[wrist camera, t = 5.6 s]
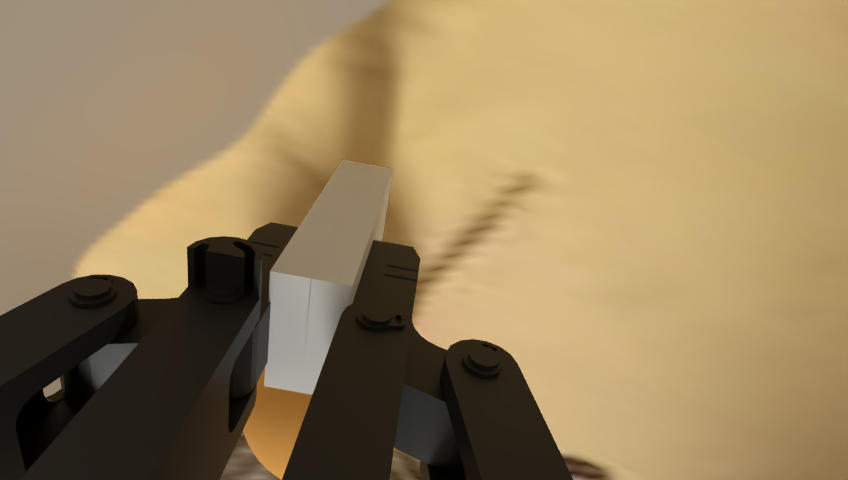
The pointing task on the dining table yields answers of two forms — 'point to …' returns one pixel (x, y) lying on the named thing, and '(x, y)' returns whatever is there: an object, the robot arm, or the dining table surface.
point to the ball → (275, 425)
